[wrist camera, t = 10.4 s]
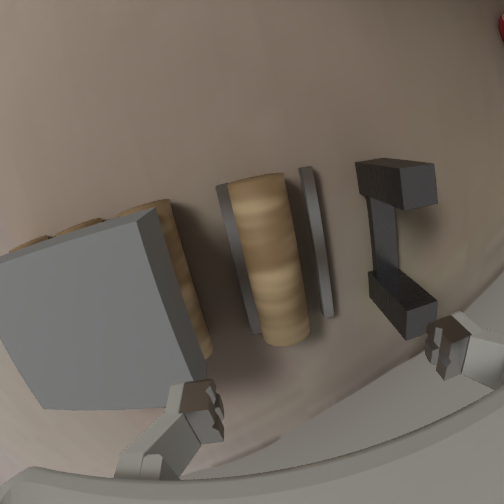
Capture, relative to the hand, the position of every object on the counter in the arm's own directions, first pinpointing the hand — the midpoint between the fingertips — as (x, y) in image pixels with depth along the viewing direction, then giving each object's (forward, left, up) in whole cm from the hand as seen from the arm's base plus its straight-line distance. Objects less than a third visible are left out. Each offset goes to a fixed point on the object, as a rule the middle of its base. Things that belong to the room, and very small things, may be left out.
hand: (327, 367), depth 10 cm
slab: (0, -14, -10) cm, 17 cm away
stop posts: (0, +8, -14) cm, 16 cm away
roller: (0, 0, -14) cm, 14 cm away
